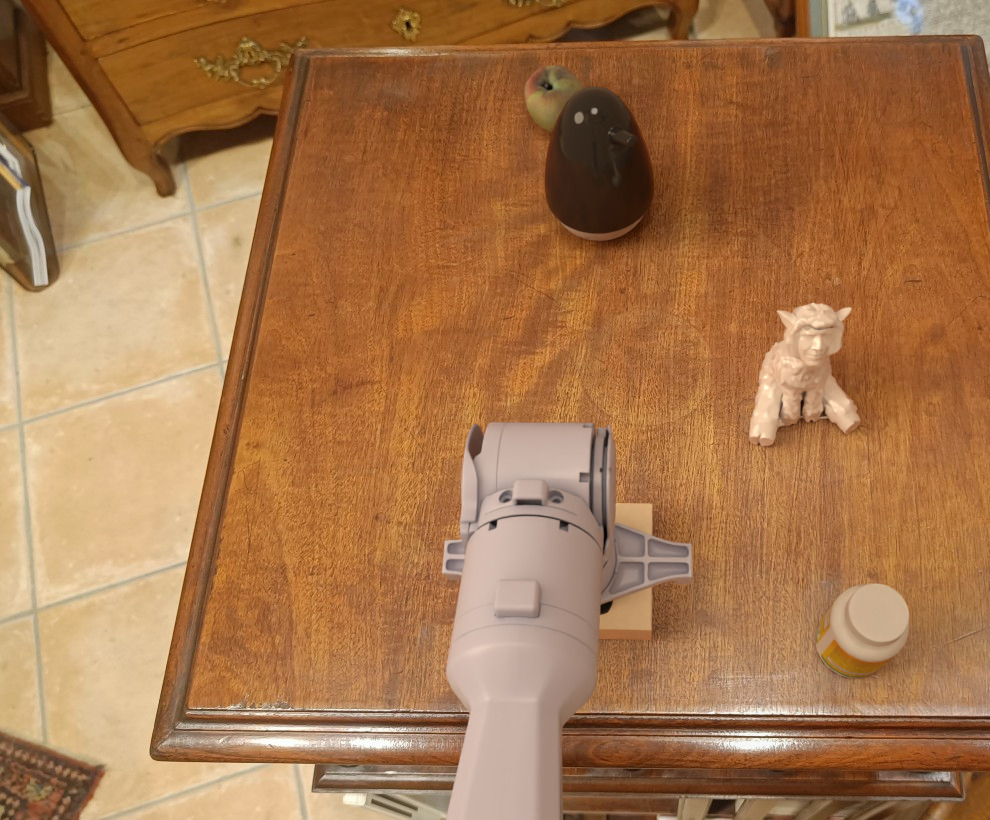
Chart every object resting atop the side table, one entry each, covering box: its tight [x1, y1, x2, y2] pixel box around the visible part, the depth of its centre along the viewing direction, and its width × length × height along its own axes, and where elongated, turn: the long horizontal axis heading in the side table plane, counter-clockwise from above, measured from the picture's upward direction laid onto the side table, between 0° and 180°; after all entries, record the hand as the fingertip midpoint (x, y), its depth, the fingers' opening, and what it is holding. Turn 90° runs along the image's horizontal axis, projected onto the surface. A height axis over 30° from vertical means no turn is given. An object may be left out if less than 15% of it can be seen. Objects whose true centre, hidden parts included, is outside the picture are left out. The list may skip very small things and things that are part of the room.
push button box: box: [599, 502, 654, 641], centre depth 71 cm, size 10×10×5 cm
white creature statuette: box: [748, 302, 862, 447], centre depth 74 cm, size 10×9×12 cm
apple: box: [523, 64, 585, 134], centre depth 93 cm, size 6×8×6 cm
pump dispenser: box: [544, 86, 655, 242], centre depth 83 cm, size 10×10×15 cm
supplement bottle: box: [815, 582, 910, 679], centre depth 65 cm, size 5×5×10 cm
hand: (578, 590), depth 62 cm, fingers closed
